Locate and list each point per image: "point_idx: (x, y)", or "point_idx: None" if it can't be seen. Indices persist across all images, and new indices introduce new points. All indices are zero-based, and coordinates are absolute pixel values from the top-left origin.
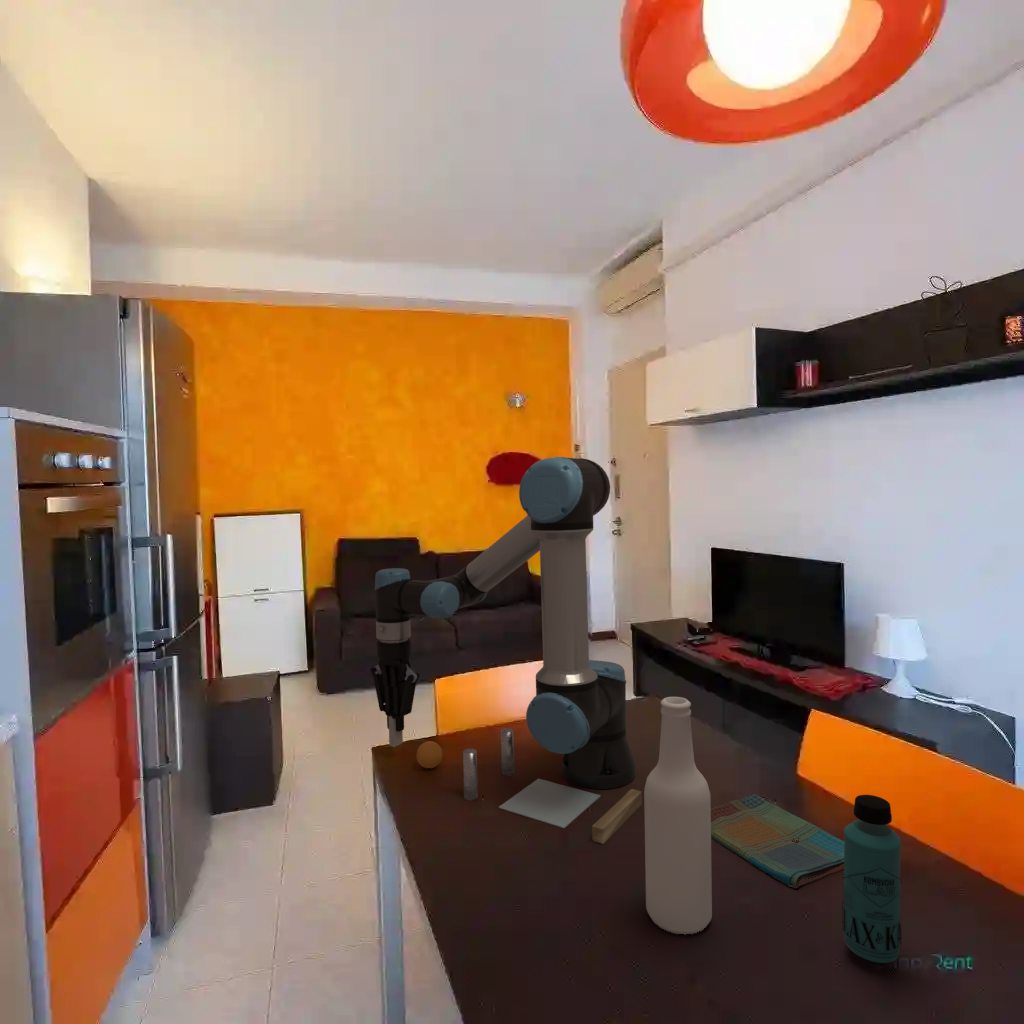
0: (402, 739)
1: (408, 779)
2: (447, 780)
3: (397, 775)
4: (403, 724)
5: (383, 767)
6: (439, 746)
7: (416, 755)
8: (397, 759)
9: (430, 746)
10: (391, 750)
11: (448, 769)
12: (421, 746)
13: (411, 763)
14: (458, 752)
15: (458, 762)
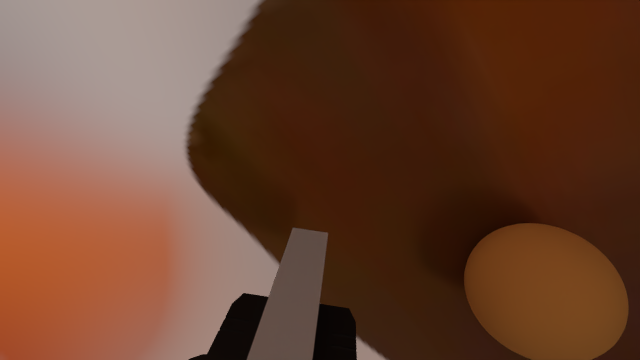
0: (325, 243)
1: (468, 347)
2: (627, 318)
3: (413, 335)
4: (354, 349)
5: (325, 303)
6: (625, 296)
7: (477, 319)
8: (328, 233)
9: (596, 356)
10: (242, 168)
11: (598, 240)
12: (530, 355)
13: (407, 244)
14: (587, 50)
15: (627, 163)
